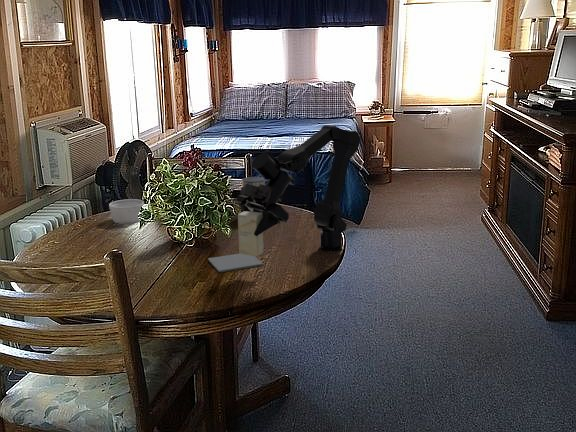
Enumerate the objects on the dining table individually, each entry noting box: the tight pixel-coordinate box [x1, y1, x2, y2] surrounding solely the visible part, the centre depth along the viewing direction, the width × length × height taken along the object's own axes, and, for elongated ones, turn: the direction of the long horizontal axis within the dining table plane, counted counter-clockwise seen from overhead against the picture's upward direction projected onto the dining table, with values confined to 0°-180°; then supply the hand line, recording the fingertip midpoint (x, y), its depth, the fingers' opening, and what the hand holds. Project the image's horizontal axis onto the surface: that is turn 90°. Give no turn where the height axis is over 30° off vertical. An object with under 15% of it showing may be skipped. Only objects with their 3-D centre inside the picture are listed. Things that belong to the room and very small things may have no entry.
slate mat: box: [207, 253, 264, 273], centre depth 194 cm, size 14×12×1 cm
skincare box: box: [237, 211, 264, 257], centre depth 181 cm, size 6×4×12 cm
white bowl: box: [108, 198, 145, 225], centre depth 242 cm, size 13×13×7 cm
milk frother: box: [239, 176, 266, 217], centre depth 241 cm, size 14×16×15 cm
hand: (246, 232), depth 180 cm, fingers closed on skincare box, 7 cm apart
